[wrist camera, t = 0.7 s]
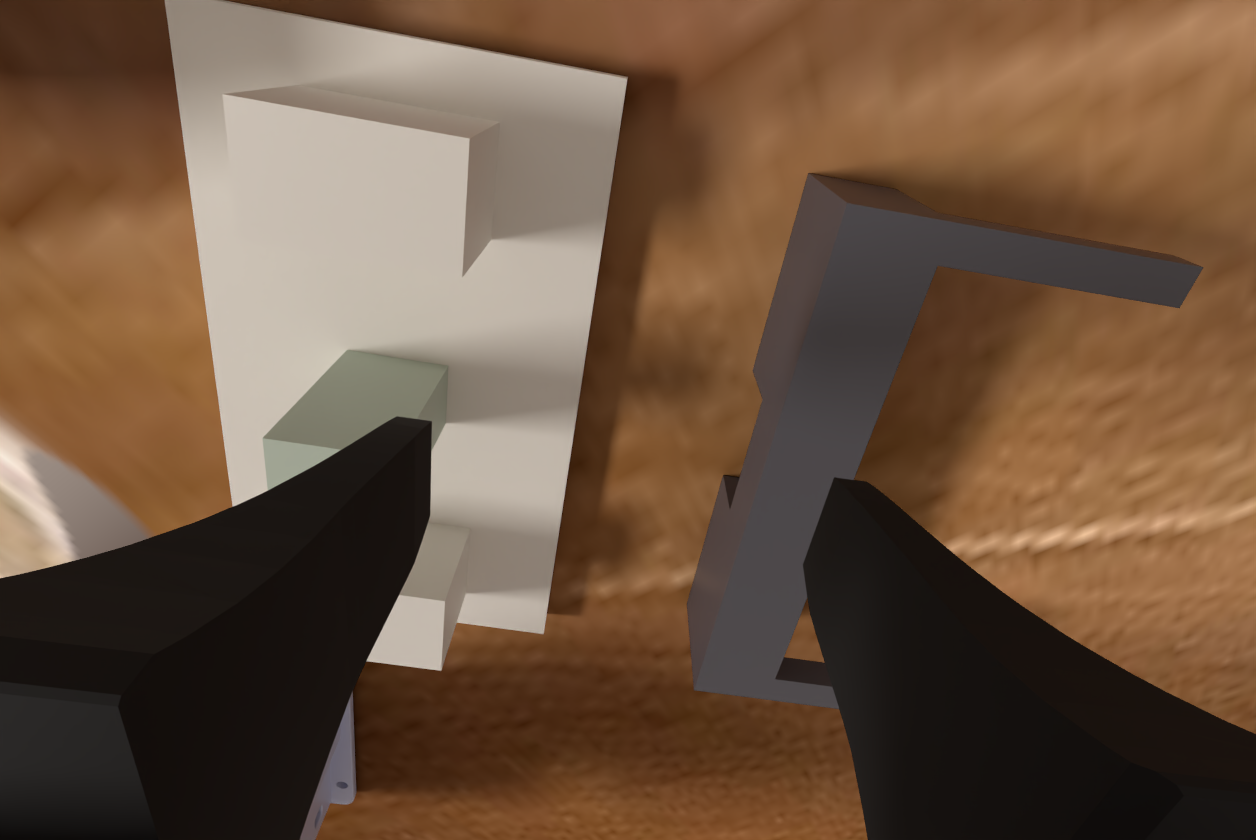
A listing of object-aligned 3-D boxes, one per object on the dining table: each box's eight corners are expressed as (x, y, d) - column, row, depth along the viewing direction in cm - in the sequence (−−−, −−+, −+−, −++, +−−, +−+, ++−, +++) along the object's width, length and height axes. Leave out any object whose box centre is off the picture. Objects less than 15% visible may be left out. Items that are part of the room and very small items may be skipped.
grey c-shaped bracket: (899, 633, 27) (937, 721, 23) (686, 604, 26) (694, 690, 23) (1100, 226, 19) (1203, 267, 16) (808, 173, 19) (846, 202, 15)
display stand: (546, 614, 27) (522, 760, 21) (257, 575, 26) (156, 716, 21) (628, 76, 18) (622, 91, 12) (188, -7, 17) (-26, -31, 11)
